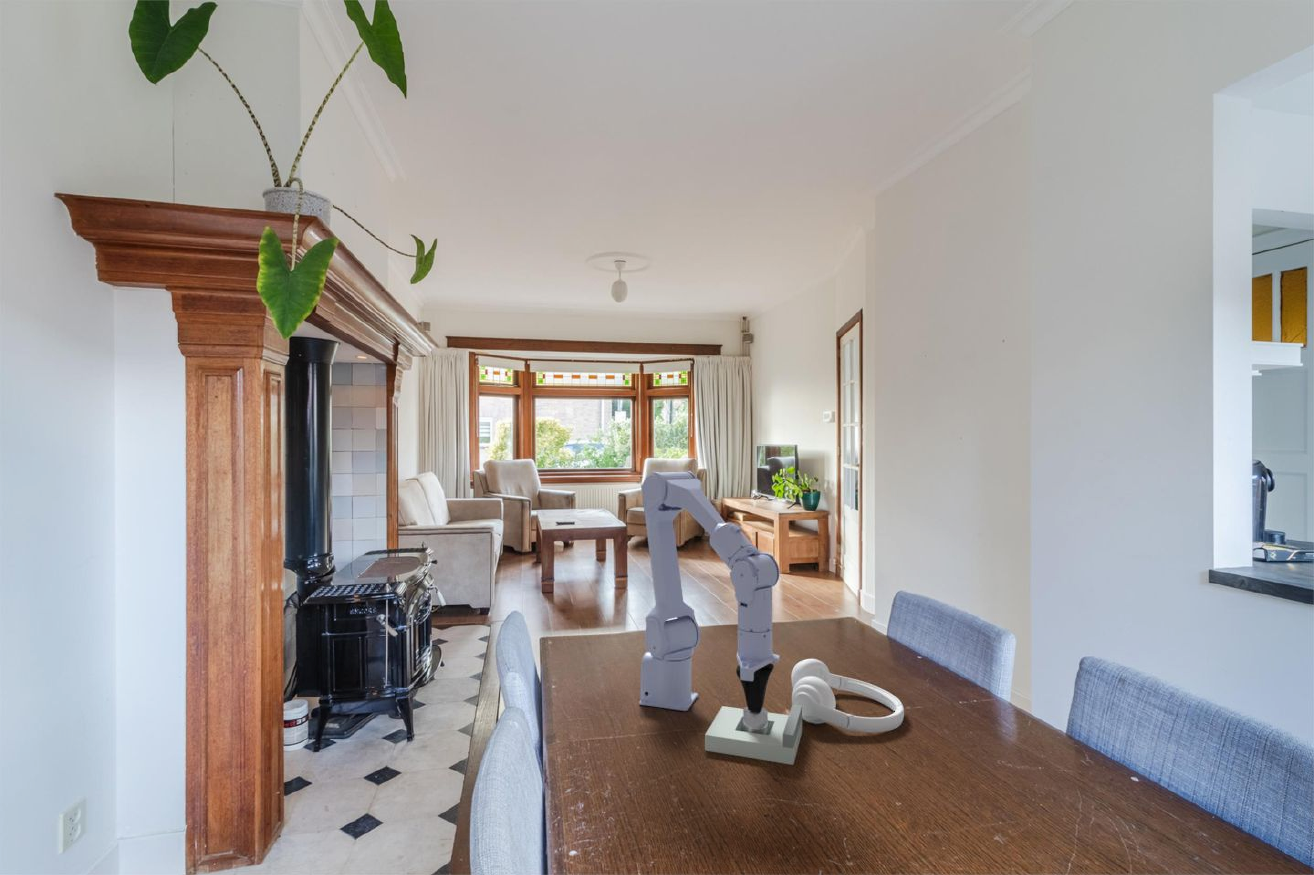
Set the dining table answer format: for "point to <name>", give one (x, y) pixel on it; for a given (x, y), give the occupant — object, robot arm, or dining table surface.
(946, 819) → the dining table surface
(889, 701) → the headphones
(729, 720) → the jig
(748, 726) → the peg
